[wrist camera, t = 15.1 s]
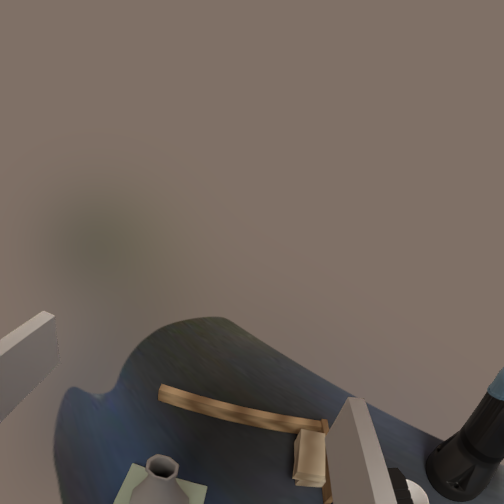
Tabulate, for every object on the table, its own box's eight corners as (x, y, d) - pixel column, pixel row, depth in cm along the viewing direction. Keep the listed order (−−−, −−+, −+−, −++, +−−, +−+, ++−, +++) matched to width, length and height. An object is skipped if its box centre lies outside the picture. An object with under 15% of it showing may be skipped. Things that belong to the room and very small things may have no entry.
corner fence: (320, 430, 44) (327, 419, 43) (330, 503, 29) (339, 494, 28) (160, 394, 45) (162, 381, 44) (125, 462, 29) (125, 450, 28)
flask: (147, 472, 28) (148, 428, 26) (199, 497, 27) (211, 458, 24) (118, 508, 21) (109, 470, 19) (175, 538, 20) (181, 509, 17)
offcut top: (320, 441, 40) (325, 433, 39) (319, 483, 31) (325, 476, 31) (297, 436, 40) (301, 428, 40) (292, 478, 32) (297, 471, 31)
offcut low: (315, 447, 41) (320, 439, 40) (320, 488, 32) (325, 482, 31) (293, 444, 41) (297, 437, 40) (294, 486, 32) (299, 480, 31)
